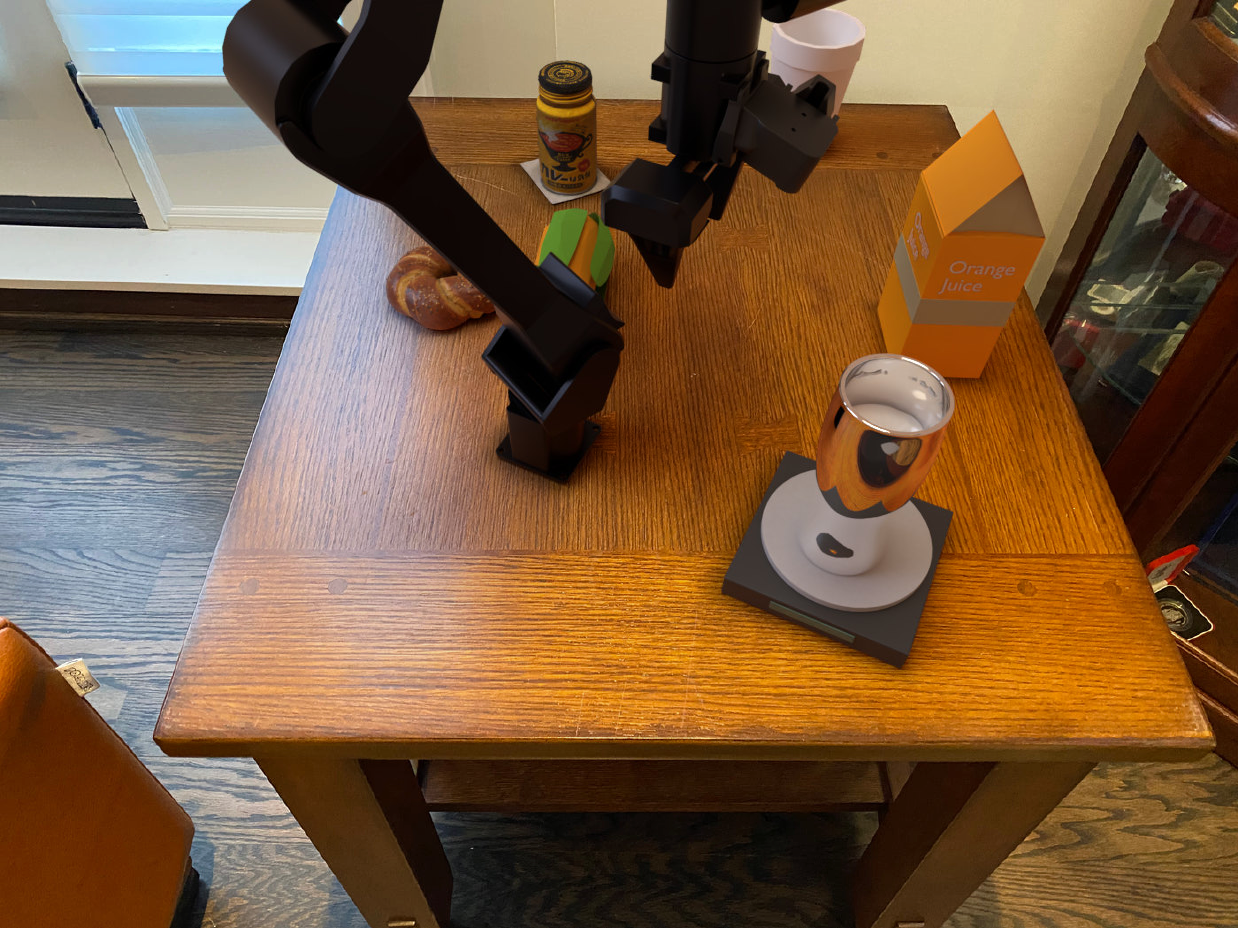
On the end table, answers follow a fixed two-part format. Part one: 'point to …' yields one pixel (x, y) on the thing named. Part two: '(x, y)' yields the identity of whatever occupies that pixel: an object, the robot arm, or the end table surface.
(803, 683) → the end table surface
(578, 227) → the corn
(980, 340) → the orange juice
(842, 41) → the foam cup
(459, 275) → the pretzel
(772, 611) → the scale
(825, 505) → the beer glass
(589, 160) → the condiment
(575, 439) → the robot arm
